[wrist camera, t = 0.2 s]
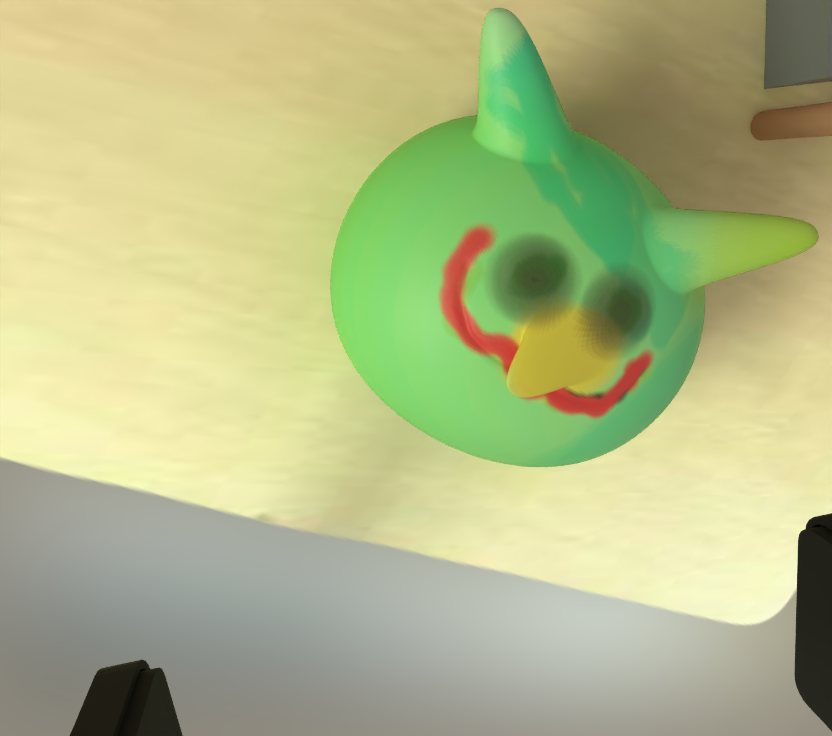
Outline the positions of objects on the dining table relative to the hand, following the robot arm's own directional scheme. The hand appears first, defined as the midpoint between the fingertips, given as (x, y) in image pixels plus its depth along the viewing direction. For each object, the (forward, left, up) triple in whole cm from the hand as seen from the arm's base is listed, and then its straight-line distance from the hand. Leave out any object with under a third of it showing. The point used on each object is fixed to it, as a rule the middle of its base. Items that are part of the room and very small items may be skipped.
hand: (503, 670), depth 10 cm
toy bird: (-1, +8, -31) cm, 32 cm away
